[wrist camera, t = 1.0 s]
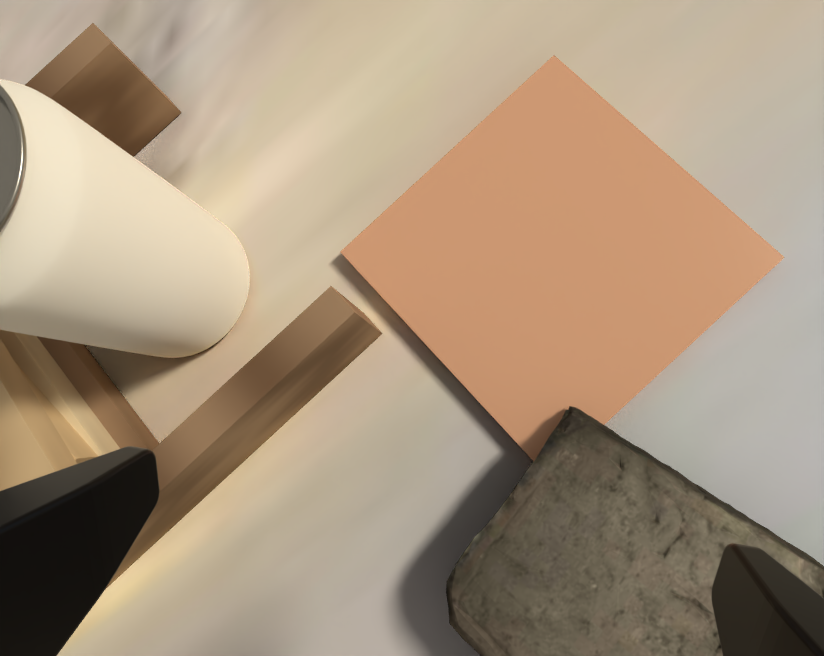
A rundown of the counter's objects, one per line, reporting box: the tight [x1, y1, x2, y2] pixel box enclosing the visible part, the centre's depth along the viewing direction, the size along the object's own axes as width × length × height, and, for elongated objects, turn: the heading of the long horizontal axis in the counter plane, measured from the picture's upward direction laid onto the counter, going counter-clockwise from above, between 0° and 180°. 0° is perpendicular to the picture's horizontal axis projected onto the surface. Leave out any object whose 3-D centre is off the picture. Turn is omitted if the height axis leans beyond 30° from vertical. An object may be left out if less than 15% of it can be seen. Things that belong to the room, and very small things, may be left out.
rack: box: [0, 23, 382, 588], centre depth 22 cm, size 19×15×5 cm
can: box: [0, 79, 250, 358], centre depth 19 cm, size 6×6×12 cm
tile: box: [341, 56, 784, 461], centre depth 23 cm, size 12×12×1 cm
